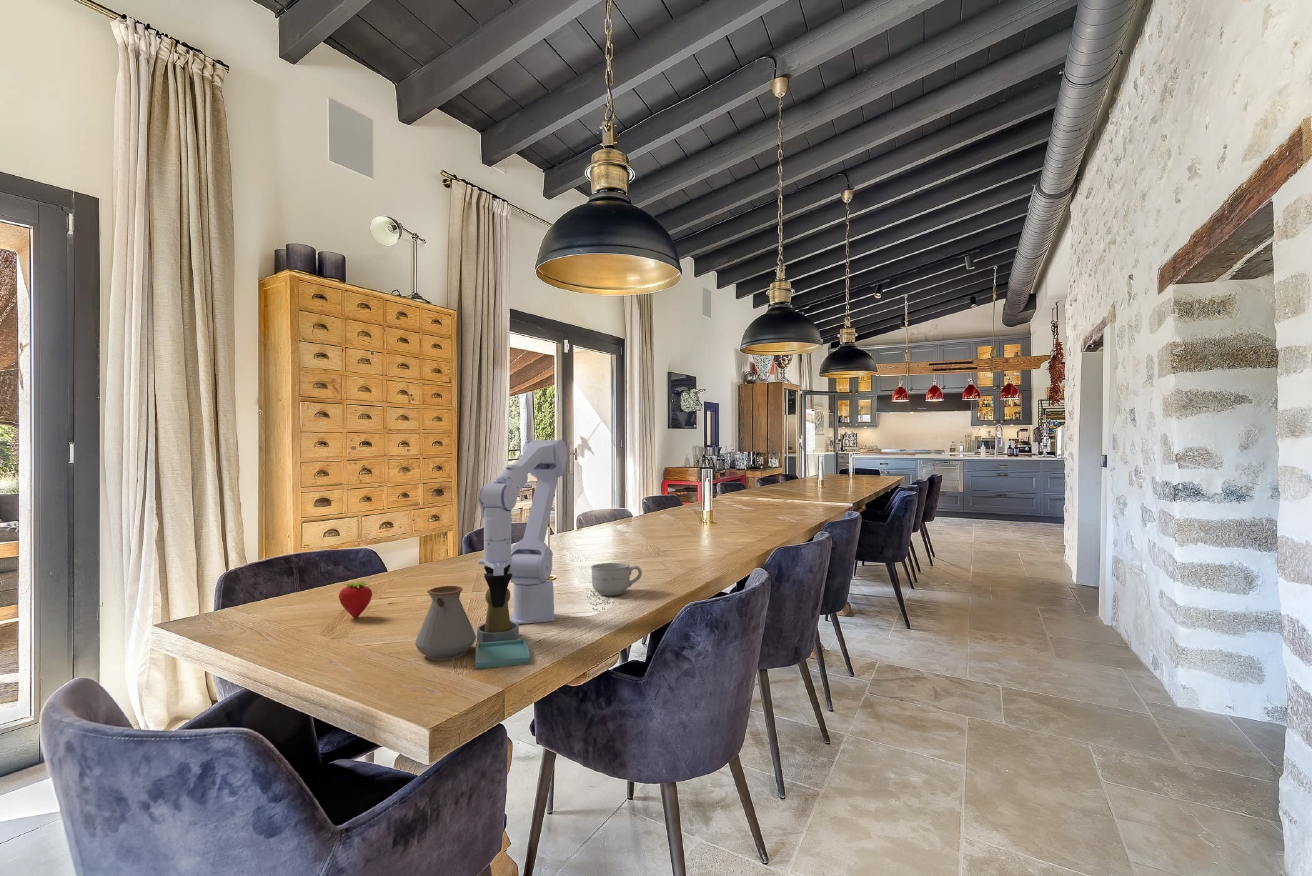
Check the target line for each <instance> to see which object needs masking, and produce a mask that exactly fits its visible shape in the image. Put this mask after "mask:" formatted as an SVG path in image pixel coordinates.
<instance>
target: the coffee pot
mask: <svg viewBox="0 0 1312 876" xmlns="http://www.w3.org/2000/svg"><path fill="white" fill-rule="evenodd" d="M426 592H427V594H428V596H429V597H430V598H431V600H432V601H431V604H430V607H429V608H428V611H427V614H426V616H425V618H424V619H423V623H422V625H421V627H420V630H419V632H418V635H417V637H416V639H415V646H416V649H417V651H419V652H420V653H421V654H422V655H424V656H425V658H426V659H429V660H432V661H446V660H453V659H457V658H460V657H462V656H464V655H465V654H466V653H467V651H468V650H470V648H471V647H472V646H473V645H474V643H475V641H476V640H477V634H476V633H475V630H474V629H473V626H472V623H471V622H470V619H469V617H468V615H467V613H466V610H465V609H464V607H463V604H462V602H461V599H460V596H461V593H462V592H463V587H462V586H458V585H443V586H442V585H441V586H438V587H433V588H431V589H429V590H427V591H426Z"/></svg>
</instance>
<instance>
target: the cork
mask: <svg viewBox="0 0 1312 876" xmlns="http://www.w3.org/2000/svg"><path fill="white" fill-rule="evenodd" d="M484 596H485V597H484V598H485V602H486V603H487V609H486V615H485V616H486V618H485V623H486V624H485V623H484V624H485V631H484V632H488V633H498V632H506V631H509V630H511V624H510V621H511V619H510V618H511V615H510V610H509V601H510V599H511V591H510V589H509V588H508V587H507V591H506V597H505V602H504V606H503V607H497V608H493V605H492V601H491V594H490V589H487V590H486V592H485V595H484Z"/></svg>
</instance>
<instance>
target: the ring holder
mask: <svg viewBox="0 0 1312 876" xmlns="http://www.w3.org/2000/svg"><path fill="white" fill-rule="evenodd" d="M485 624H486V622H484V623H482V624H480V625H479V626H477V627H476V642H477V643H486V642H497V641H508V640H519V639H520V635H519V633H520V631H519V629H520V628H519V624H518V623H515V622H512V620H510V624H511V630H509V631H506V632H498V633H488V632H484V631H485ZM518 638H519V639H518Z"/></svg>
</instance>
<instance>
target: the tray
mask: <svg viewBox="0 0 1312 876" xmlns="http://www.w3.org/2000/svg"><path fill="white" fill-rule="evenodd" d="M474 663H475V664H474V665H475V668H474V669H475V670H479V669H480V670H482V669H489V668H490V669H491V668H500V667H508V666H511V667H512V666H519V665H527V664H528V665H529V664H531V655H530V651H529V647H528V642H527V639H526V638H519V639H517V640H508V641H497V642H486V643H478V642H477V643H475V662H474Z"/></svg>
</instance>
